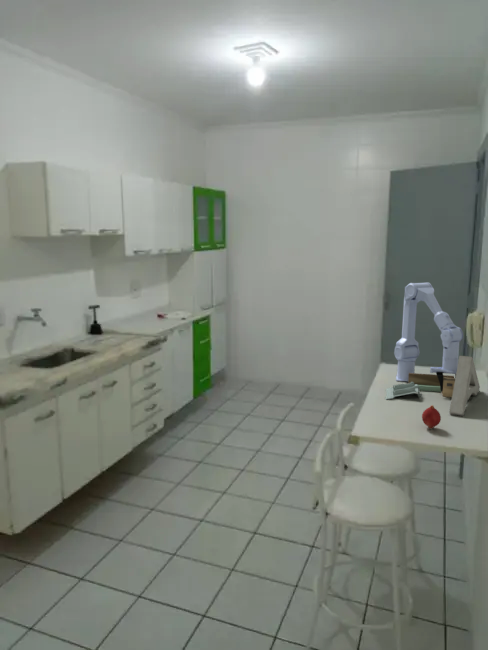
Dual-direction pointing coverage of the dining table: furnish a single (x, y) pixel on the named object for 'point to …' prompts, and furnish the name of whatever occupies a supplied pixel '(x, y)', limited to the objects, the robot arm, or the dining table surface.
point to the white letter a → (464, 385)
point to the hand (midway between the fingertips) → (448, 391)
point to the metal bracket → (402, 390)
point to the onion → (431, 417)
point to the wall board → (425, 379)
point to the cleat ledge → (429, 388)
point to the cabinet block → (448, 386)
